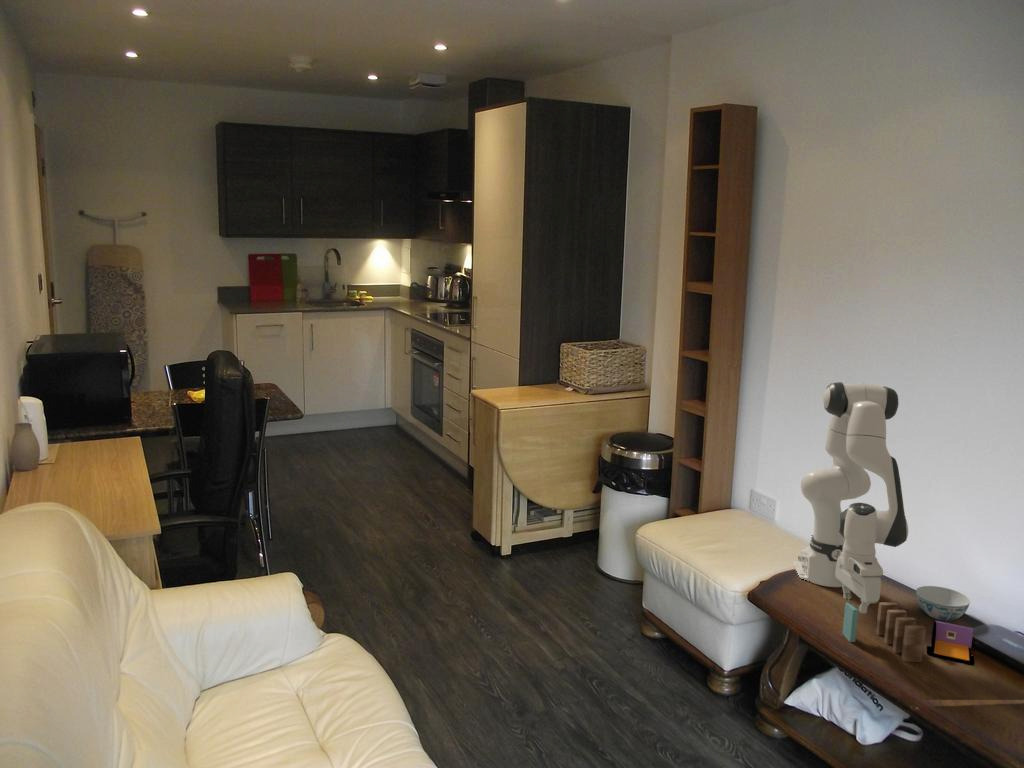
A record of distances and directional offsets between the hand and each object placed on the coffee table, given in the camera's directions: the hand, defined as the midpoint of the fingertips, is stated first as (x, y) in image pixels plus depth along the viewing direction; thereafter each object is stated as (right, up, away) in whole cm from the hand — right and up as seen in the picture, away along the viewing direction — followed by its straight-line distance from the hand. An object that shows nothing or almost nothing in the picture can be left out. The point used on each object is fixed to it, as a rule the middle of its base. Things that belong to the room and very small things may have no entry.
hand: (854, 605), depth 242 cm
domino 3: (+11, -11, 0) cm, 16 cm away
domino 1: (-1, -10, +2) cm, 11 cm away
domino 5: (+12, -13, -10) cm, 20 cm away
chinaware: (+34, -9, +17) cm, 39 cm away
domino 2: (+11, -10, +5) cm, 16 cm away
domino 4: (+12, -12, -5) cm, 17 cm away
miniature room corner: (+26, -13, -4) cm, 29 cm away
